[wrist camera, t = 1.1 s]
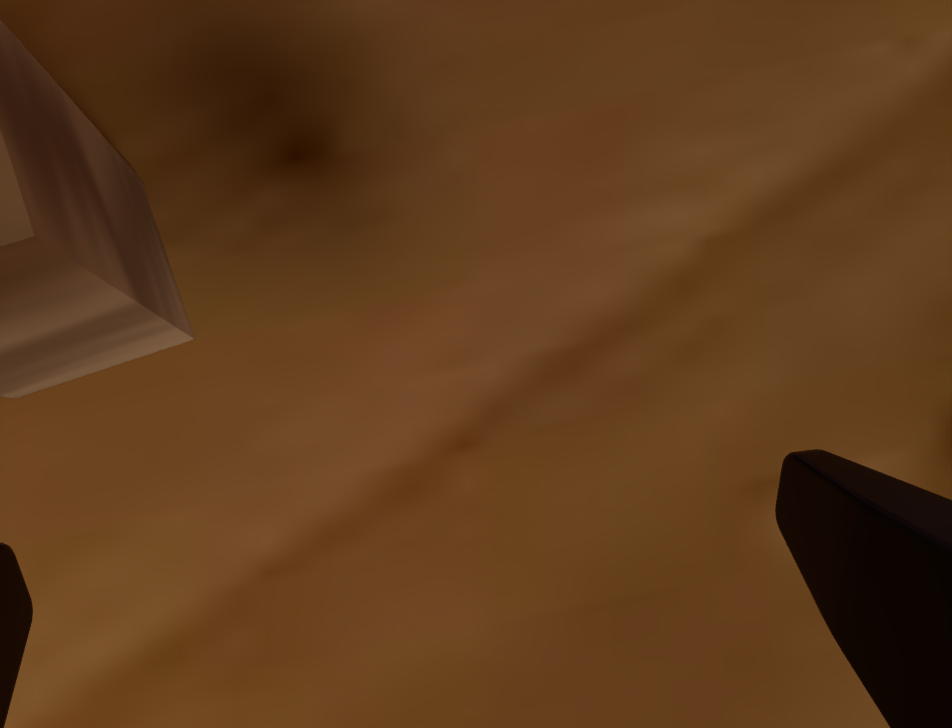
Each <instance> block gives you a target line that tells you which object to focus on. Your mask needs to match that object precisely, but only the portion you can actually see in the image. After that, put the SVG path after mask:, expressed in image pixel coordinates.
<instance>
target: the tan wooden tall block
mask: <svg viewBox="0 0 952 728" xmlns="http://www.w3.org/2000/svg"><path fill="white" fill-rule="evenodd" d="M191 340H194V336H193V333H192V330H191V327H190V324H189V321H188V318H187V315H186V312H185V309H184V306H183V303H182V300H181V297H180V295H179V292H178V289H177V286H176V283H175V280H174V277H173V274H172V271H171V268H170V265H169V262H168V259H167V256H166V253H165V250H164V247H163V244H162V241H161V238H160V235H159V232H158V229H157V226H156V223H155V220H154V217H153V214H152V211H151V208H150V205H149V202H148V199H147V196H146V193H145V190H144V187H143V184H142V181H141V179H140V177H139V176H138V175H137V174H136V173H135V172H134V171H133V169H132V168H131V167H130V166H129V165H128V164H127V163H126V161H125V160H124V159H123V158H122V157H121V156H120V155H119V153H118V152H117V151H116V150H115V149H114V148H113V147H112V145H111V144H110V143H109V142H108V141H107V140H106V139H105V137H104V136H103V135H102V134H101V133H100V132H99V131H98V129H97V128H96V127H95V126H94V125H93V124H92V123H91V122H90V120H89V119H88V118H87V117H86V116H85V115H84V114H83V112H82V111H81V110H80V109H79V108H78V107H77V106H76V104H75V103H74V102H73V101H72V100H71V99H70V98H69V96H68V95H67V94H66V93H65V92H64V91H63V90H62V88H61V87H60V86H59V85H58V84H57V83H56V82H55V80H54V79H53V78H52V77H51V76H50V75H49V74H48V72H47V71H46V70H45V69H44V68H43V67H42V66H41V64H40V63H39V62H38V61H37V60H36V59H35V58H34V56H33V55H32V54H31V53H30V52H29V51H28V50H27V48H26V47H25V46H24V45H23V44H22V43H21V42H20V40H19V39H18V38H17V37H16V36H15V35H14V34H13V32H12V31H11V30H10V29H9V28H8V27H7V26H6V24H5V23H4V22H3V21H2V20H1V19H0V396H4V397H10V398H15V399H16V398H19V397H22V396H25V395H28V394H31V393H34V392H37V391H40V390H43V389H46V388H49V387H52V386H55V385H58V384H61V383H64V382H67V381H70V380H73V379H76V378H79V377H82V376H85V375H88V374H91V373H94V372H97V371H101V370H104V369H107V368H110V367H113V366H116V365H119V364H122V363H125V362H128V361H131V360H134V359H137V358H140V357H143V356H146V355H149V354H152V353H155V352H158V351H161V350H164V349H167V348H170V347H173V346H176V345H179V344H182V343H185V342H188V341H191Z"/></svg>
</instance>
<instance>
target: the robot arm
mask: <svg viewBox="0 0 952 728" xmlns="http://www.w3.org/2000/svg"><path fill="white" fill-rule="evenodd" d="M775 512H776V520H777V524H778V527H779V529H780V531H781V533H782V535H783V537H784V540H785V542H786V544H787V546H788V548H789V550H790V552H791V554H792V556H793V558H794V560H795V562H796V564H797V566H798V568H799V570H800V572H801V574H802V576H803V578H804V580H805V582H806V584H807V586H808V588H809V590H810V592H811V594H812V596H813V598H814V600H815V603H816V605H817V607H818V609H819V611H820V613H821V615H822V617H823V619H824V620H825V622H826V624H827V626H828V628H829V630H830V632H831V633H832V635H833V637H834V638H835V640H836V642H837V643H838V645H839V647H840V648H841V650H842V652H843V653H844V655H845V657H846V658H847V660H848V661H849V663H850V664H851V666H852V668H853V669H854V671H855V672H856V674H857V676H858V677H859V679H860V680H861V682H862V683H863V685H864V687H865V688H866V690H867V691H868V693H869V695H870V696H871V698H872V699H873V701H874V702H875V704H876V706H877V707H878V709H879V710H880V712H881V714H882V715H883V717H884V718H885V720H886V721H887V723H888V725H889V726H890V728H952V500H950V499H948V498H945V497H942V496H940V495H937V494H935V493H932V492H930V491H927V490H924V489H922V488H919V487H917V486H914V485H912V484H909V483H906V482H904V481H901V480H899V479H896V478H894V477H891V476H888V475H886V474H883V473H881V472H878V471H876V470H873V469H870V468H868V467H865V466H863V465H860V464H858V463H855V462H852V461H850V460H847V459H845V458H842V457H839V456H837V455H834V454H832V453H829V452H827V451H824V450H818V449H815V450H807V451H798V452H791V453H789V454H788V455H787V456H786V457H785V459H784V460H783V464H782V469H781V475H780V482H779V488H778V494H777V501H776V509H775ZM32 615H33V607H32V601H31V597H30V594H29V592H28V589H27V586H26V583H25V581H24V578H23V575H22V572H21V570H20V567H19V564H18V561H17V559H16V556H15V554H14V552H13V550H12V549H11V547H10V546H8V545H6V544H4V543H0V728H4V725H5V721H6V718H7V714H8V710H9V706H10V703H11V699H12V695H13V691H14V687H15V684H16V680H17V676H18V672H19V668H20V665H21V661H22V657H23V653H24V650H25V646H26V642H27V638H28V634H29V631H30V627H31V623H32Z"/></svg>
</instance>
